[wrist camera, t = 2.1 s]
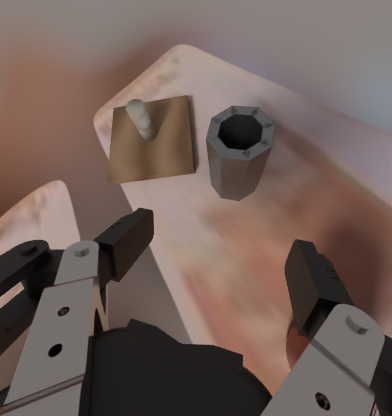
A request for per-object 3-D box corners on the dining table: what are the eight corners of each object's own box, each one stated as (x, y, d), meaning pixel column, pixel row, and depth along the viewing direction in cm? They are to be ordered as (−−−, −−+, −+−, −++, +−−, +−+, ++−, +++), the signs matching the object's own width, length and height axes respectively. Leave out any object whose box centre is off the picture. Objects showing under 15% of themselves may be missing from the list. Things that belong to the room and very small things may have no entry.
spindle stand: (188, 102, 33) (180, 60, 26) (194, 173, 28) (186, 143, 22) (118, 114, 34) (93, 77, 27) (112, 184, 29) (81, 159, 23)
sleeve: (258, 165, 27) (277, 108, 18) (252, 203, 26) (269, 163, 16) (217, 159, 28) (215, 104, 19) (208, 195, 27) (201, 154, 17)
